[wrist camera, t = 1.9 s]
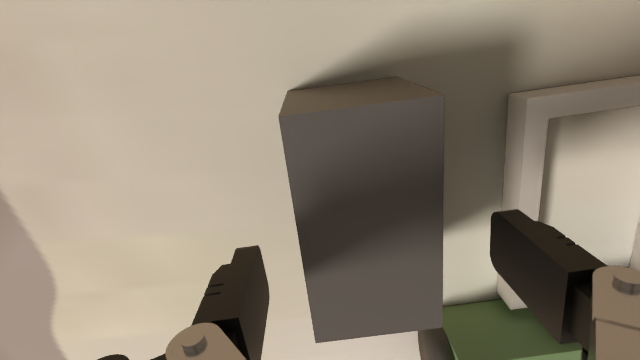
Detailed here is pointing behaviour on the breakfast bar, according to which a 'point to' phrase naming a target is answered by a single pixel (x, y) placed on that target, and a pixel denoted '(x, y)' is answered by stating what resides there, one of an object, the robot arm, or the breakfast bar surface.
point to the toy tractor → (524, 194)
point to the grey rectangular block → (368, 204)
